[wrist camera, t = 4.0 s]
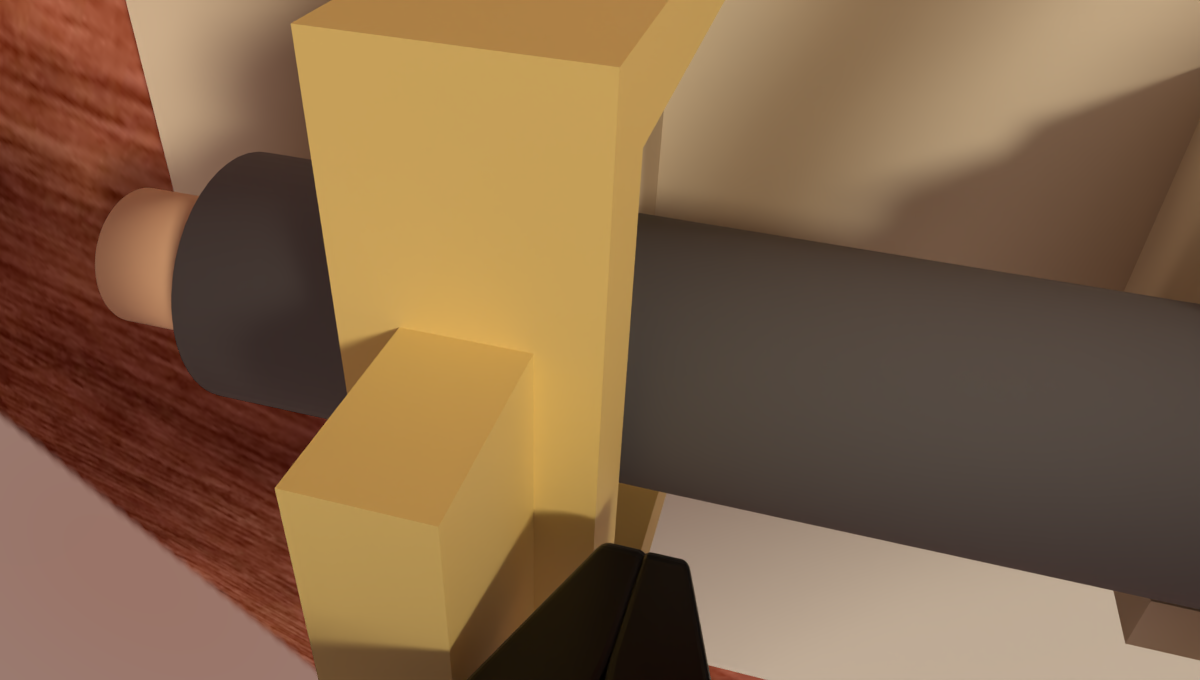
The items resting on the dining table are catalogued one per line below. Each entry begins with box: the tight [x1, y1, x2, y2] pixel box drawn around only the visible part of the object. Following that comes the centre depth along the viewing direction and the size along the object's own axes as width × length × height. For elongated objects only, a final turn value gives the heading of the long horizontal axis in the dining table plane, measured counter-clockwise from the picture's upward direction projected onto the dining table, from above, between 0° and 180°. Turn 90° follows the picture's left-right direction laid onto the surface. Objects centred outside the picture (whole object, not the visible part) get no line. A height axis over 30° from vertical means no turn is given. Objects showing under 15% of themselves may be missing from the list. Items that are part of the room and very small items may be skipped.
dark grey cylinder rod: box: [95, 152, 1200, 610], centre depth 11 cm, size 19×3×3 cm, turn 88°
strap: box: [275, 0, 725, 680], centre depth 11 cm, size 2×9×9 cm, turn 178°
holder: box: [126, 0, 1200, 660], centre depth 13 cm, size 22×12×5 cm, turn 88°
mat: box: [649, 493, 1200, 680], centre depth 19 cm, size 18×6×1 cm, turn 88°
